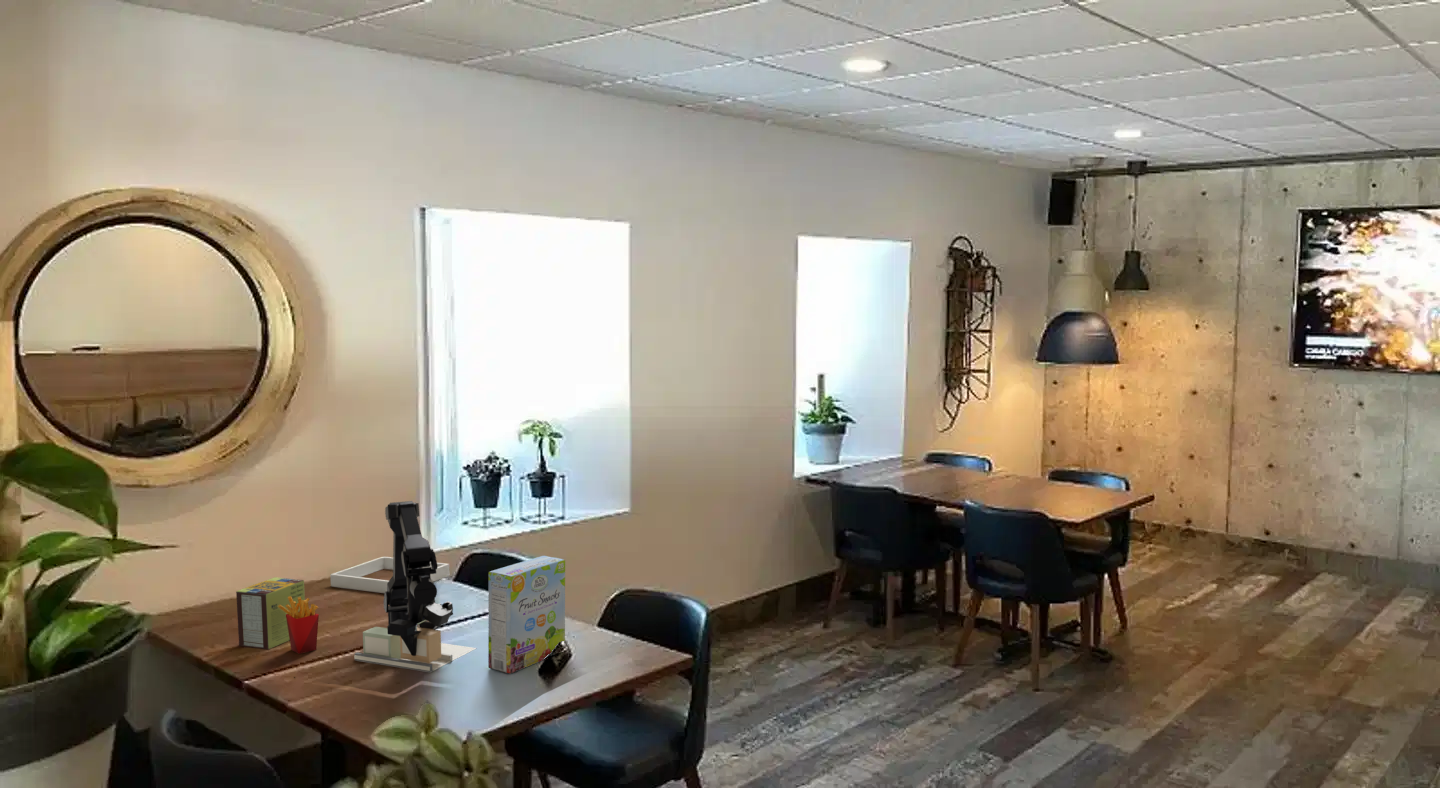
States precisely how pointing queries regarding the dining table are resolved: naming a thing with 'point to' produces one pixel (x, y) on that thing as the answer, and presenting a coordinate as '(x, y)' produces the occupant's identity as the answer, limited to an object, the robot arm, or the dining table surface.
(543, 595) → the snack box
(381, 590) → the serving tray rim
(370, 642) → the sage tea box
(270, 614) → the protein box
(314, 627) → the french fries
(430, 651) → the ochre tea box
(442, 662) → the shelf
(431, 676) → the dining table surface
